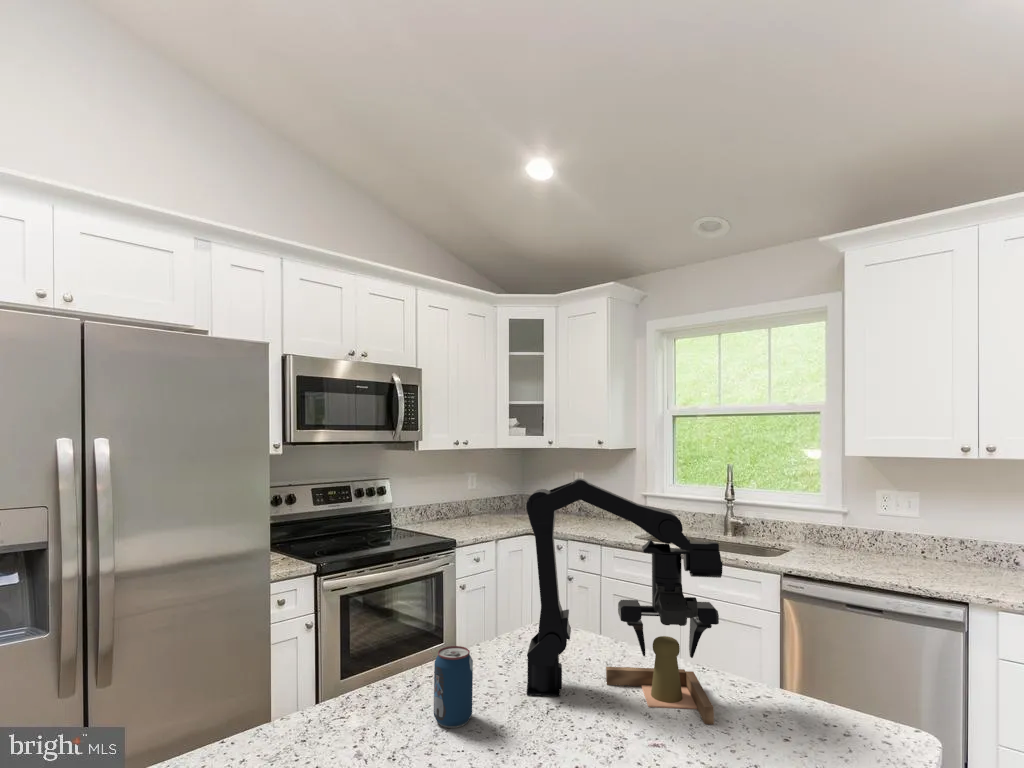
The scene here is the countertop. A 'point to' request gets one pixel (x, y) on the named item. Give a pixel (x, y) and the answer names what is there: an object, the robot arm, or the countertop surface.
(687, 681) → the corner arena
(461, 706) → the soda can
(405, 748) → the countertop surface
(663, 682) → the olive pepper mill
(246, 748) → the countertop surface
